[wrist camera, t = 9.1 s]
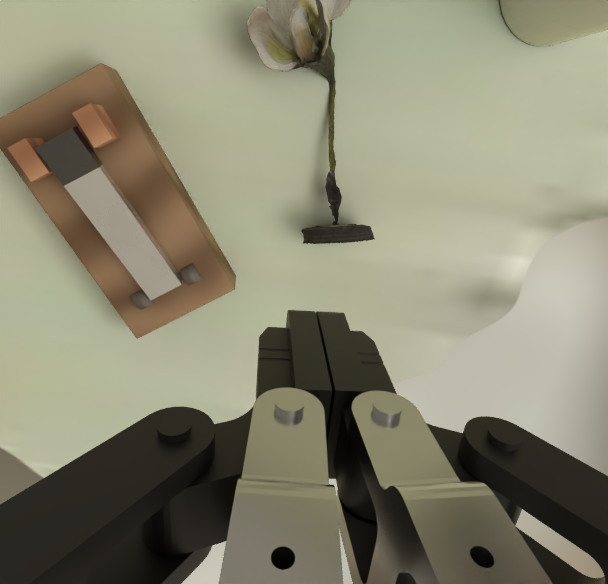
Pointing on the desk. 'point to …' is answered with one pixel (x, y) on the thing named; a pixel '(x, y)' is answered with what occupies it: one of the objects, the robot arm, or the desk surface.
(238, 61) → the desk surface
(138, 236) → the lever
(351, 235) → the artificial flower
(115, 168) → the lever base
